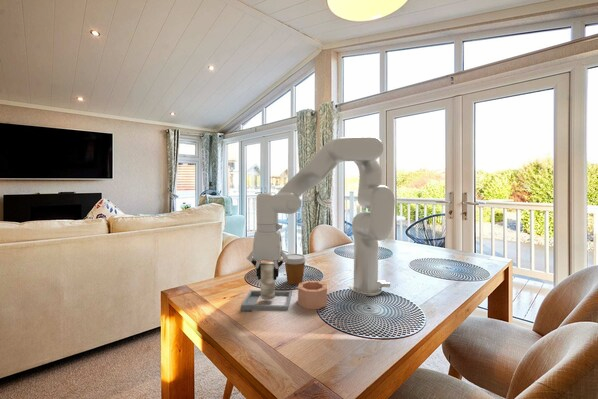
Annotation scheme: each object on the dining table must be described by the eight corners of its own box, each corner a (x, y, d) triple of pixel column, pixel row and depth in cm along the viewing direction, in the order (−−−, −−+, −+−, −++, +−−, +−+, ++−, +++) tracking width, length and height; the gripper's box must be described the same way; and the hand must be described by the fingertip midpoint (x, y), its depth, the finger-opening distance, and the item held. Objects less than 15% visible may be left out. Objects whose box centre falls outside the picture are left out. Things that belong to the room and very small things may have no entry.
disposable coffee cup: (303, 289, 116) (303, 260, 115) (281, 287, 118) (281, 258, 117) (307, 280, 125) (307, 254, 124) (286, 279, 127) (286, 253, 126)
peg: (275, 294, 104) (275, 262, 103) (273, 299, 99) (273, 266, 98) (262, 293, 104) (261, 261, 104) (259, 299, 100) (259, 265, 99)
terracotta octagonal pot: (326, 299, 106) (326, 281, 105) (327, 312, 96) (327, 291, 95) (299, 298, 106) (299, 280, 106) (297, 311, 96) (297, 291, 96)
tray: (291, 296, 108) (291, 291, 108) (288, 312, 95) (288, 306, 95) (250, 295, 109) (250, 290, 109) (241, 311, 96) (241, 305, 96)
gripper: (292, 226, 103) (292, 275, 105) (246, 226, 104) (246, 274, 106) (290, 230, 96) (290, 282, 97) (240, 229, 97) (241, 281, 98)
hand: (267, 277), depth 101 cm, fingers closed on peg, 4 cm apart
